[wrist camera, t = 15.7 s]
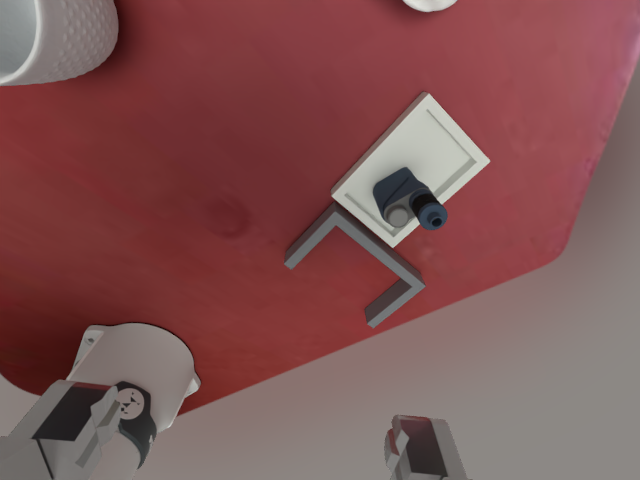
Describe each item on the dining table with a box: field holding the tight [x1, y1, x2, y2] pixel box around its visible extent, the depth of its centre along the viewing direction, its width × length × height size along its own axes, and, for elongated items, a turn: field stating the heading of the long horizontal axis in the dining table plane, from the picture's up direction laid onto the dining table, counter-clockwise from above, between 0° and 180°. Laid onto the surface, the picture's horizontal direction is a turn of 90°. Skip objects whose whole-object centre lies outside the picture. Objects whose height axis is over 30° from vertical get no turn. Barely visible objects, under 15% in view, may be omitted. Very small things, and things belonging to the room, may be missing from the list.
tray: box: [331, 92, 490, 248], centre depth 37 cm, size 14×10×2 cm
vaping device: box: [373, 167, 447, 230], centre depth 33 cm, size 3×5×12 cm, turn 122°
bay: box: [284, 201, 426, 328], centre depth 43 cm, size 9×15×3 cm, turn 49°
